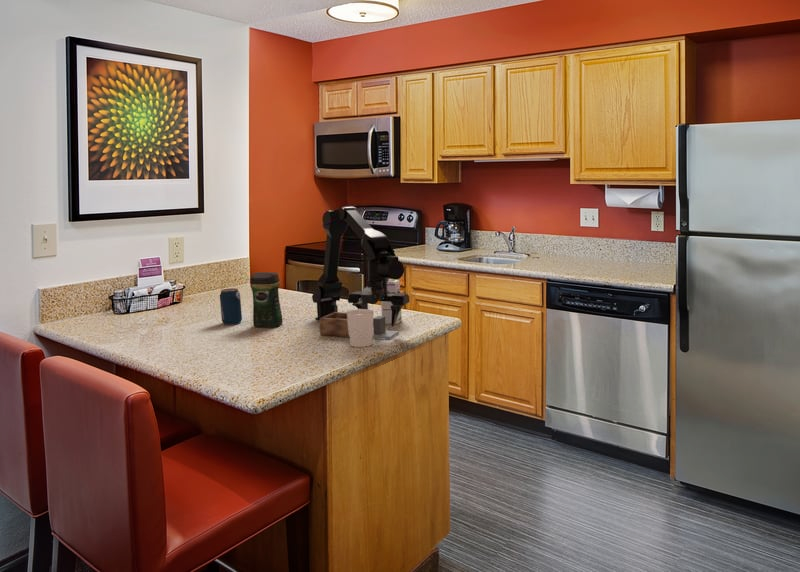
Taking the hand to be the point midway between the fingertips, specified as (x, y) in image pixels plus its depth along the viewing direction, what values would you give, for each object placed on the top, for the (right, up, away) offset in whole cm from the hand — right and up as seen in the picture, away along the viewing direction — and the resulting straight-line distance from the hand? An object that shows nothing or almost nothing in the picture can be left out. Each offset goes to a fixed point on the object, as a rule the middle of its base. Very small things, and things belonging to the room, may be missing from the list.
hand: (379, 325), depth 192 cm
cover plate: (0, -4, +1) cm, 4 cm away
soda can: (-53, -1, +25) cm, 59 cm away
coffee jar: (-39, -2, +19) cm, 44 cm away
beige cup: (-5, -5, -9) cm, 12 cm away
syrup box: (+4, 0, +18) cm, 19 cm away
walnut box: (-11, -3, +5) cm, 13 cm away
